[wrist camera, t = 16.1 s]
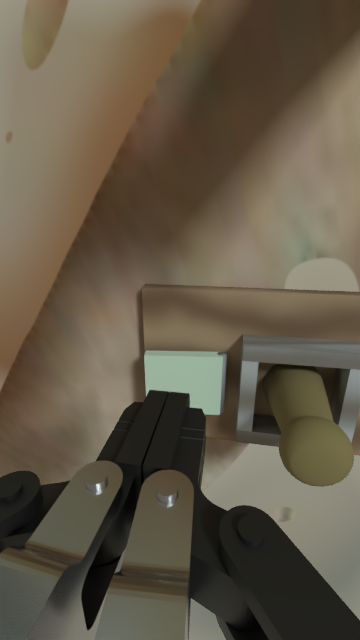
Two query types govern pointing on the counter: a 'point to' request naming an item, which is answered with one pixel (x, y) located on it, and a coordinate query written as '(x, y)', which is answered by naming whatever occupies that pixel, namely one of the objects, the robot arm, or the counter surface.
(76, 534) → the robot arm
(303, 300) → the holder board
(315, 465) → the olive knobbed cylinder
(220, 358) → the latch flap
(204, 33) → the counter surface
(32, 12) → the counter surface
